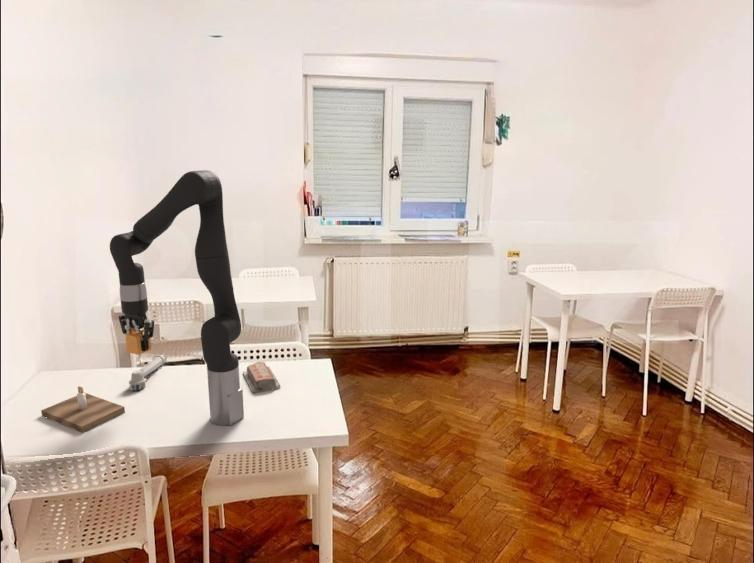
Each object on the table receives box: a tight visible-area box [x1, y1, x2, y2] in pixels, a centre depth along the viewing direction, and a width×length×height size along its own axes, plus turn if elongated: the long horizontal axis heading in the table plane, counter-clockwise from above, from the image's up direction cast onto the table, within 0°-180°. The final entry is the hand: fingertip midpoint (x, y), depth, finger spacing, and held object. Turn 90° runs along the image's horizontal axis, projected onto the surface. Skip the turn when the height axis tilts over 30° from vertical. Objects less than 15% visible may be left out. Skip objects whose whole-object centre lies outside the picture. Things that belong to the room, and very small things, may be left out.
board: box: [41, 392, 126, 433], centre depth 164 cm, size 20×14×2 cm
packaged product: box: [242, 361, 281, 394], centre depth 190 cm, size 18×5×10 cm
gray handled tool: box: [128, 353, 167, 391], centre depth 192 cm, size 5×7×25 cm
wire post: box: [76, 385, 87, 410], centre depth 163 cm, size 2×2×7 cm
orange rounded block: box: [124, 328, 152, 355], centre depth 166 cm, size 5×5×7 cm
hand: (139, 348), depth 167 cm, fingers closed on orange rounded block, 5 cm apart
